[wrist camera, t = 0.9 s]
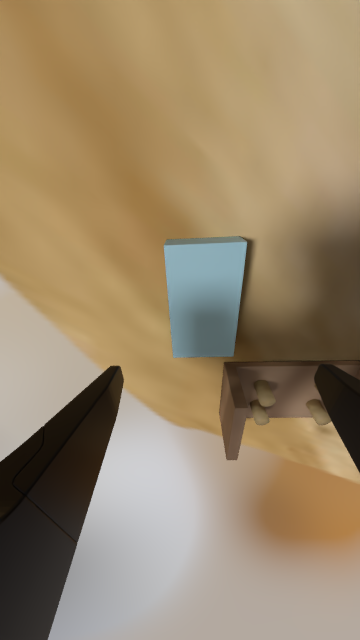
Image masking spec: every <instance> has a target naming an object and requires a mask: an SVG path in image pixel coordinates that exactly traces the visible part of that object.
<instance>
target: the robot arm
mask: <svg viewBox="0 0 360 640" xmlns="http://www.w3.org/2000/svg"><path fill="white" fill-rule="evenodd" d="M314 382H315V384H316V387H317V389H318V392H319V394H320V396H321V399H322V401H323V403H324V406H325V408H326V411H327V413H328V415H329V417H330V419H331V421H332V423H333V424H334V426H335V428H336V430H337V432H338V434H339V435H340V437H341V439H342V441H343V443H344V445H345V447H346V448H347V450H348V452H349V454H350V456H351V458H352V459H353V461H354V463H355V465H356V467H357V469H358V471H359V472H360V380H359V379H357V378H355V377H354V376H352V375H350V374H348V373H347V372H345V371H343V370H341V369H340V368H338V367H336V366H334V365H333V364H329V363H324V364H320V365H319V366H318V368H317V371H316V373H315V375H314ZM123 383H124V378H123V374H122V371H121V367H120V366H110V367H109V368H108V369H107V370H106V371H104V372H103V373H102V374H101V375H100V376H99V377H98V378H97V379H96V380H94V381H93V382H92V383H91V384H90V385H89V386H88V387H86V388H85V389H84V390H83V391H82V392H81V393H80V394H79V395H77V396H76V397H75V398H74V399H73V400H72V401H71V402H70V403H68V404H67V405H66V406H65V407H64V408H63V409H62V410H60V411H59V412H58V413H57V414H56V415H55V416H54V417H53V418H51V419H50V420H49V421H48V422H47V423H46V424H45V425H44V426H43V427H41V428H40V429H39V430H38V431H37V432H36V433H35V434H34V435H32V436H31V437H30V438H29V439H28V440H27V441H25V442H24V443H23V444H22V445H21V446H19V447H18V448H17V449H16V450H14V451H13V452H12V453H11V454H10V455H9V456H7V457H6V458H5V459H3V460H2V461H1V462H0V640H48V637H49V633H50V630H51V627H52V624H53V621H54V617H55V614H56V611H57V608H58V604H59V601H60V598H61V595H62V591H63V588H64V585H65V582H66V578H67V575H68V572H69V569H70V566H71V562H72V559H73V556H74V553H75V549H76V546H77V542H78V539H79V536H80V533H81V530H82V526H83V523H84V520H85V517H86V514H87V511H88V507H89V504H90V501H91V498H92V495H93V491H94V488H95V485H96V482H97V478H98V475H99V472H100V469H101V466H102V462H103V459H104V456H105V452H106V449H107V446H108V443H109V440H110V436H111V433H112V430H113V427H114V424H115V421H116V417H117V413H118V409H119V403H120V398H121V393H122V388H123Z"/></svg>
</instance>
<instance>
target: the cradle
mask: <svg viewBox="0 0 360 640" xmlns="http://www.w3.org/2000/svg"><path fill="white" fill-rule="evenodd" d="M324 363H329V364H333V365H334V366H336V367H338V368H340V369H341V370H343V371H345V372H347V373H348V374H350V375H352V376H354V377H355V378H357V379H359V380H360V361H297V362H228V363H224V369H223V379H222V390H221V400H220V410H219V415H220V421H221V427H222V434H223V440H224V446H225V453H226V459H227V460H237V458H238V453H239V449H240V444H241V439H242V435H243V430H244V425H245V421H246V418H254V420H255V423H256V424H257V425H265V424H267V423H269V418H288V417H313V418H314V420H315V421H316V423H317V424H318V425H326V424H328V423H330V422H331V419H330V417H329V415H328V413H327V411H326V408H325V406H324V403H323V401H322V399H321V396H320V394H319V392H318V389H317V387H316V384H315V382H314V375H315V373H316V371H317V368H318V366H319V365H320V364H324Z"/></svg>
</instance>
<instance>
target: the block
mask: <svg viewBox="0 0 360 640" xmlns="http://www.w3.org/2000/svg"><path fill="white" fill-rule="evenodd" d="M246 248H247V241H245V240H244V239H243V238H241V237H240V236H235V237H213V238H190V239H168V240H166V242H165V244H164V253H165V265H166V276H167V288H168V300H169V312H170V324H171V336H172V348H173V358H176V357H230V356H234V348H235V339H236V331H237V323H238V315H239V306H240V298H241V290H242V281H243V273H244V265H245V256H246Z"/></svg>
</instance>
